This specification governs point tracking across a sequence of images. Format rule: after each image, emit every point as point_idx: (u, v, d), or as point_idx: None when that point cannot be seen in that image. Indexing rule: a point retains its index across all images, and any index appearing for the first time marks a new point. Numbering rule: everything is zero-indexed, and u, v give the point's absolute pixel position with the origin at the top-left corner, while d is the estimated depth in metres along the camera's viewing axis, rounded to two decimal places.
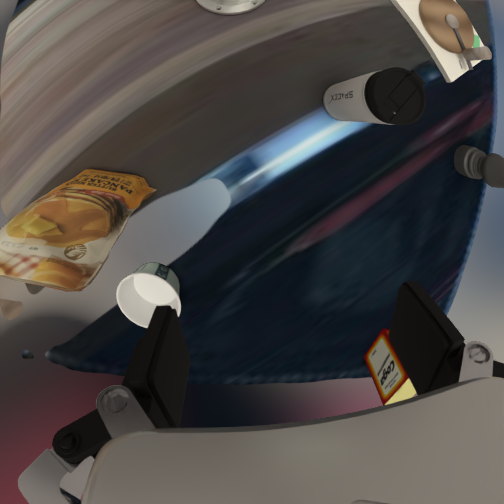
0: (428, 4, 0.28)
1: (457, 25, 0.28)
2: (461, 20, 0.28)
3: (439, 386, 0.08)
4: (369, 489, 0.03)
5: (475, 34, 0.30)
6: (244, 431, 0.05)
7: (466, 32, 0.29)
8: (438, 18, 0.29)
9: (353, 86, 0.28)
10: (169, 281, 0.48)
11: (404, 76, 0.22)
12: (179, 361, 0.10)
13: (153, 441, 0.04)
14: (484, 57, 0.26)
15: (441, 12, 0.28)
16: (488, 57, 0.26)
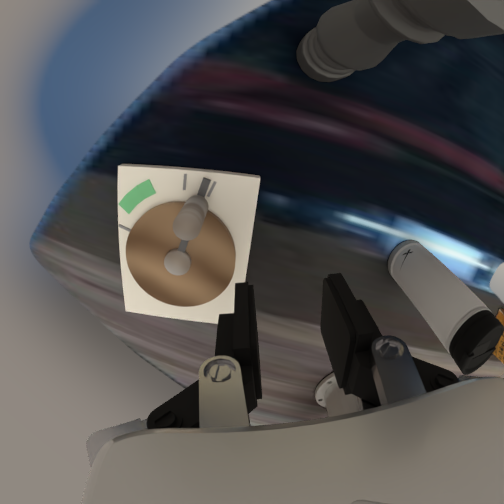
0: (199, 297, 0.35)
1: (173, 254, 0.31)
2: (148, 251, 0.32)
3: (352, 379, 0.09)
4: (369, 489, 0.03)
5: (123, 210, 0.31)
6: (244, 431, 0.05)
7: (153, 231, 0.31)
8: (201, 274, 0.33)
9: None
10: None
11: None
12: None
13: (153, 441, 0.04)
14: (200, 220, 0.24)
15: (184, 279, 0.33)
16: (191, 218, 0.23)
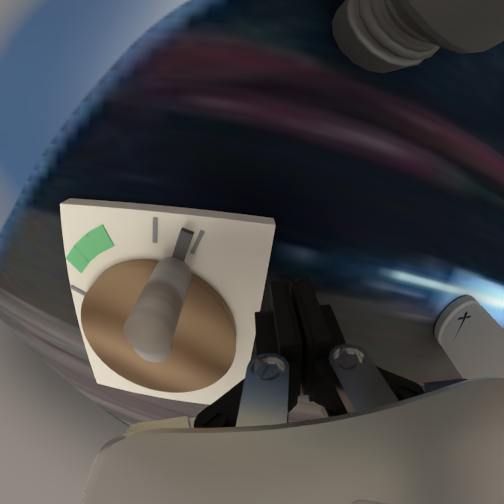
0: (187, 384, 0.23)
1: None
2: (110, 327, 0.20)
3: (313, 387, 0.09)
4: (369, 489, 0.03)
5: (74, 267, 0.20)
6: (244, 431, 0.05)
7: (114, 304, 0.20)
8: (186, 360, 0.22)
9: None
10: None
11: None
12: None
13: (153, 441, 0.04)
14: (170, 324, 0.13)
15: (164, 363, 0.22)
16: (154, 324, 0.12)
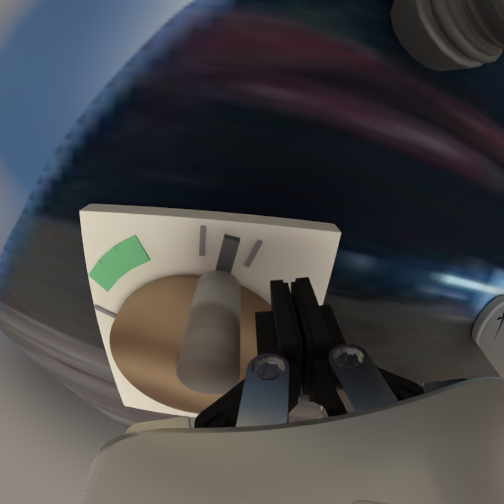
0: None
1: None
2: (146, 355, 0.18)
3: (313, 386, 0.09)
4: (369, 489, 0.03)
5: (98, 284, 0.18)
6: (244, 431, 0.05)
7: (148, 330, 0.17)
8: None
9: None
10: None
11: None
12: None
13: (153, 441, 0.04)
14: (236, 357, 0.10)
15: None
16: (217, 361, 0.10)
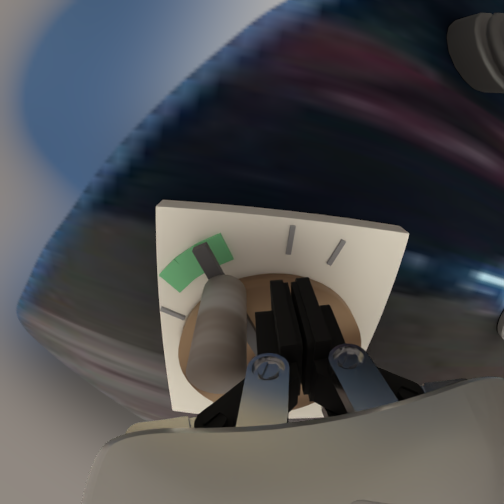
0: None
1: None
2: None
3: (313, 387, 0.09)
4: (369, 489, 0.03)
5: (169, 285, 0.18)
6: (244, 431, 0.05)
7: None
8: None
9: None
10: None
11: None
12: None
13: (153, 441, 0.04)
14: (227, 348, 0.11)
15: None
16: (209, 360, 0.10)
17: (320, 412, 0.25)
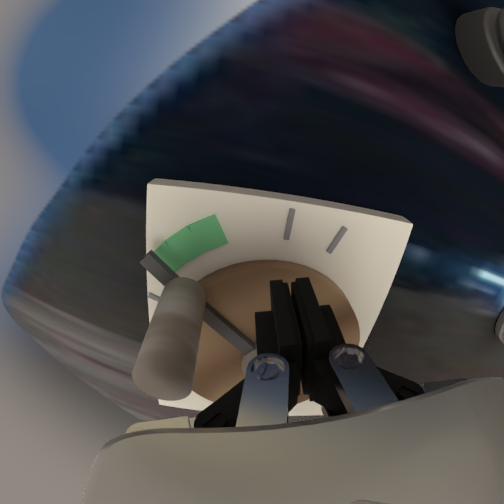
0: None
1: (247, 364, 0.17)
2: (226, 381, 0.19)
3: (313, 387, 0.09)
4: (369, 489, 0.03)
5: None
6: (244, 431, 0.05)
7: (200, 363, 0.18)
8: None
9: None
10: None
11: None
12: None
13: (153, 441, 0.04)
14: (162, 353, 0.10)
15: None
16: (146, 368, 0.10)
17: (313, 410, 0.24)
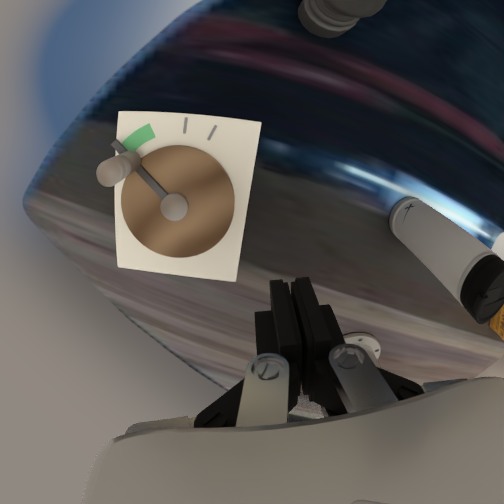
0: (224, 209, 0.31)
1: (163, 205, 0.30)
2: (154, 227, 0.32)
3: (313, 387, 0.09)
4: (369, 489, 0.03)
5: None
6: (244, 431, 0.05)
7: (139, 211, 0.31)
8: (199, 193, 0.30)
9: None
10: None
11: None
12: None
13: (153, 441, 0.04)
14: (110, 159, 0.22)
15: (196, 211, 0.31)
16: (103, 165, 0.22)
17: (224, 274, 0.37)
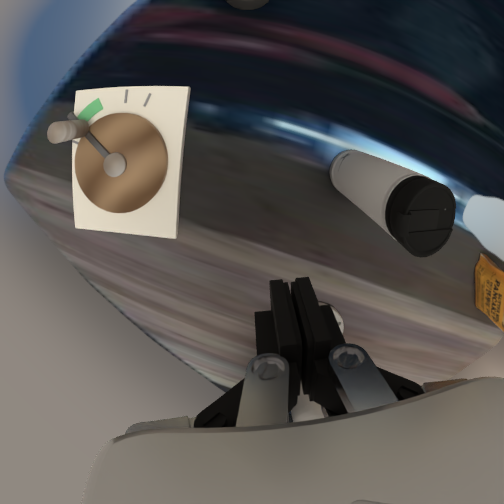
0: (156, 164, 0.32)
1: (105, 164, 0.31)
2: (100, 185, 0.33)
3: (313, 386, 0.09)
4: (369, 489, 0.03)
5: None
6: (244, 431, 0.05)
7: (88, 172, 0.32)
8: (135, 151, 0.31)
9: None
10: None
11: None
12: None
13: (153, 441, 0.04)
14: None
15: (133, 167, 0.32)
16: (52, 126, 0.23)
17: (164, 230, 0.38)
